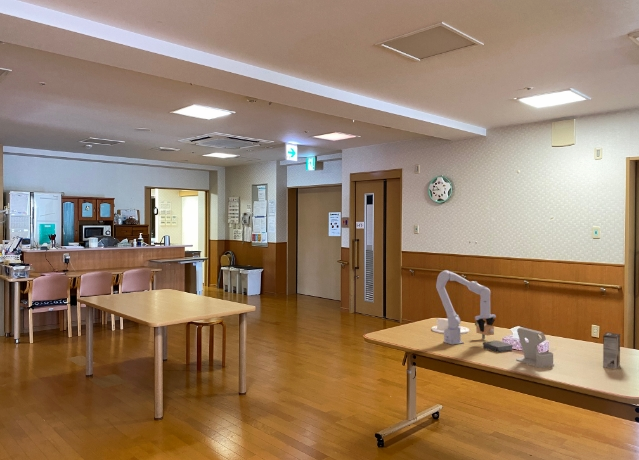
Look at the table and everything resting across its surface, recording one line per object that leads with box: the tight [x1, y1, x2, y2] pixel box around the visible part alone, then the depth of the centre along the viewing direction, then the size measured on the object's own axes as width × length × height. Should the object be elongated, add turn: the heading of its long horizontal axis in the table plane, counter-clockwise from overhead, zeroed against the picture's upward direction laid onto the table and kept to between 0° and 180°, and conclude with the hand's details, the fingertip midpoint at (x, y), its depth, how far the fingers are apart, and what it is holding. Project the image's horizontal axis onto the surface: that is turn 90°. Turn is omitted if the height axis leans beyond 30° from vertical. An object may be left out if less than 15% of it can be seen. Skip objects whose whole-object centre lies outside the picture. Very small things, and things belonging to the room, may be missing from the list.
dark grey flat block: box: [482, 340, 514, 353], centre depth 288 cm, size 11×12×3 cm
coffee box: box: [602, 331, 621, 370], centre depth 253 cm, size 9×6×16 cm
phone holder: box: [515, 326, 555, 369], centre depth 260 cm, size 17×10×18 cm, turn 26°
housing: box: [475, 323, 495, 336], centre depth 296 cm, size 10×5×5 cm, turn 25°
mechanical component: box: [474, 321, 487, 340], centre depth 313 cm, size 3×10×10 cm, turn 89°
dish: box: [431, 314, 470, 335], centre depth 337 cm, size 25×25×11 cm
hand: (485, 330), depth 297 cm, fingers closed on housing, 5 cm apart
